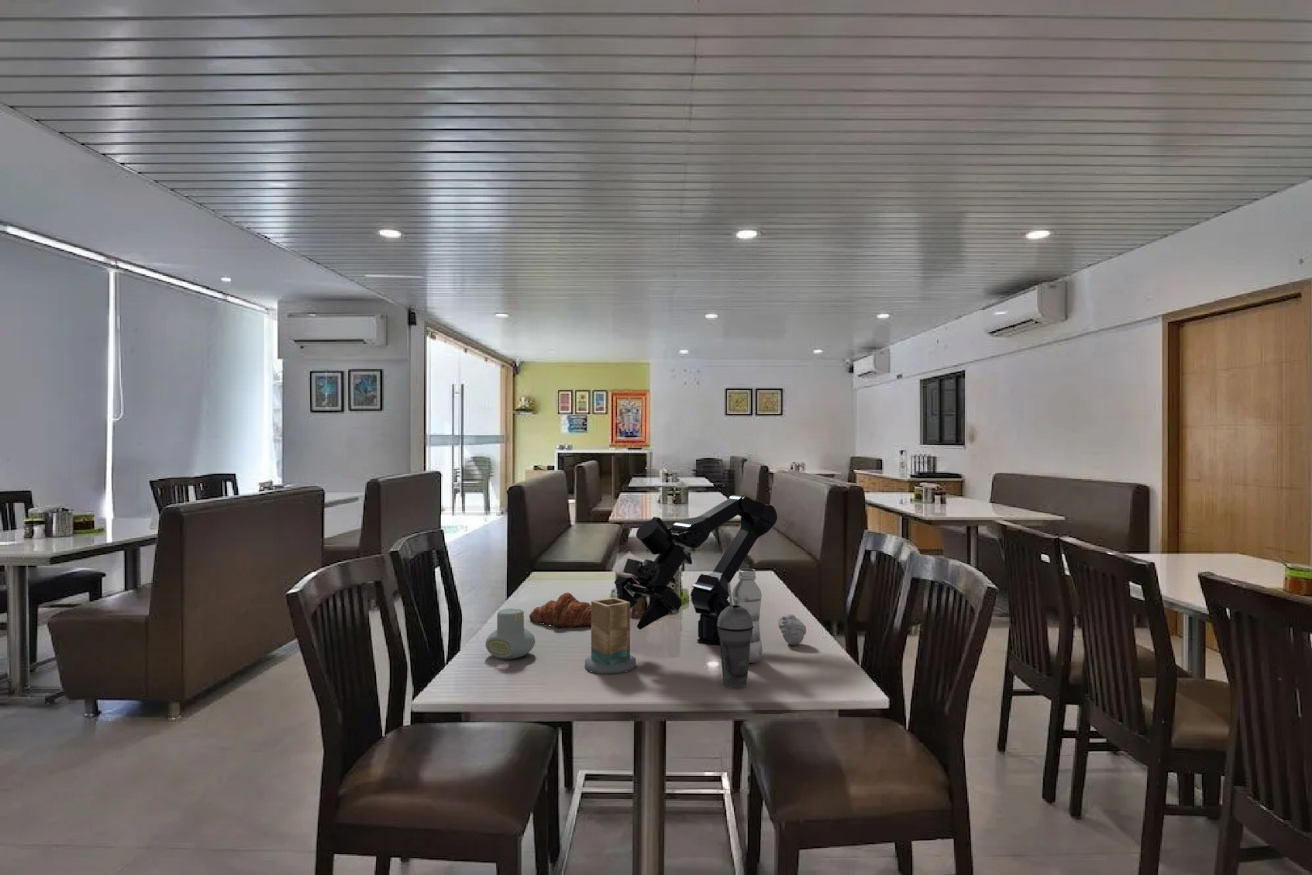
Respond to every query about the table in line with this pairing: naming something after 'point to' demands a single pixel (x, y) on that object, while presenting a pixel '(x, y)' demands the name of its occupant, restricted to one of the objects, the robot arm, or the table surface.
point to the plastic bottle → (750, 608)
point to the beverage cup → (735, 644)
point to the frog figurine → (792, 629)
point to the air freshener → (510, 636)
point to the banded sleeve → (610, 631)
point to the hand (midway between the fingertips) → (625, 623)
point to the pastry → (563, 612)
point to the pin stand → (612, 669)
